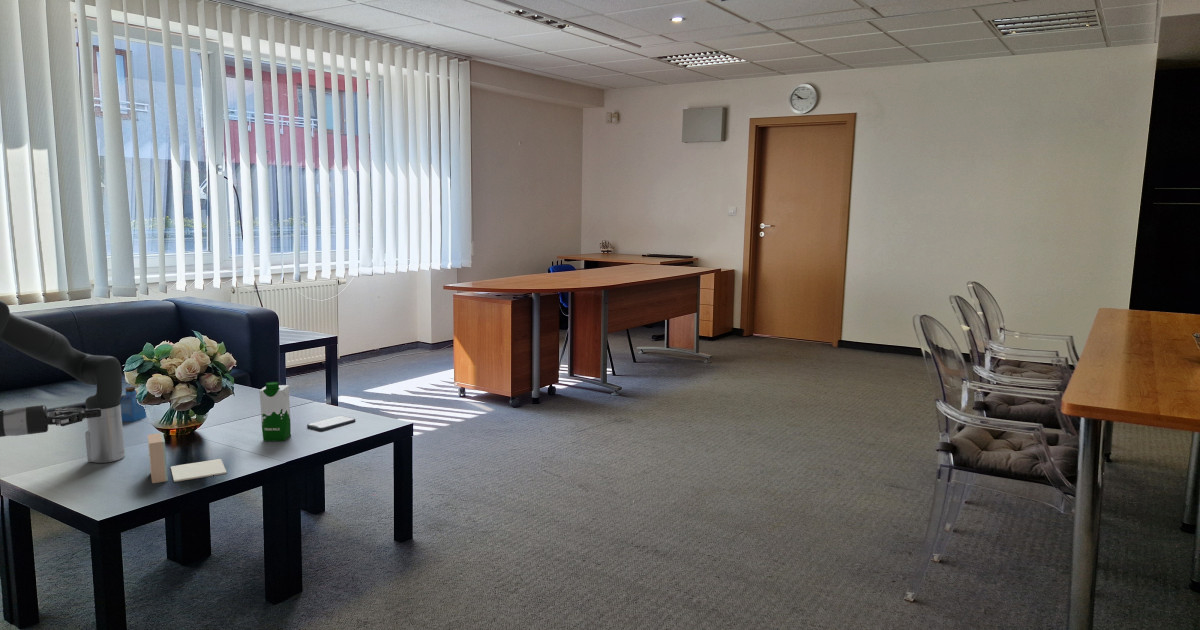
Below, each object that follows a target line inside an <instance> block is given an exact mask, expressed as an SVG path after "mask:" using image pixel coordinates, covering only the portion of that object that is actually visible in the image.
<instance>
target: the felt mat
mask: <svg viewBox="0 0 1200 630" xmlns="http://www.w3.org/2000/svg"><path fill="white" fill-rule="evenodd" d="M170 471H171V476H172V479H173V482H174V483H175V482H183V481H188V480H194V479H200V478H207V477H214V476H218V475H225V474H227V473H228V472H227V469H226V467H225V465H224V462H223V460H222V458H218V459H211V460H210V459H209V460H204V461H198V462H191V463H190V462H189V463H185V464H177V465H173V466H170ZM213 475H214V476H213Z"/></svg>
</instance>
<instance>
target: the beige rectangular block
mask: <svg viewBox="0 0 1200 630" xmlns="http://www.w3.org/2000/svg"><path fill="white" fill-rule="evenodd" d="M147 445H148V458H149V459H148V461H149V472H150V473H149V474H150V477H151V478H150V479H151V483H152V484H157V483H164V482H168V481H169V480H168V479H169V478H168V464H167V451H166V441H165V436H164V434H163V432H159V433H152V434H151V433H150V434H147Z"/></svg>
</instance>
